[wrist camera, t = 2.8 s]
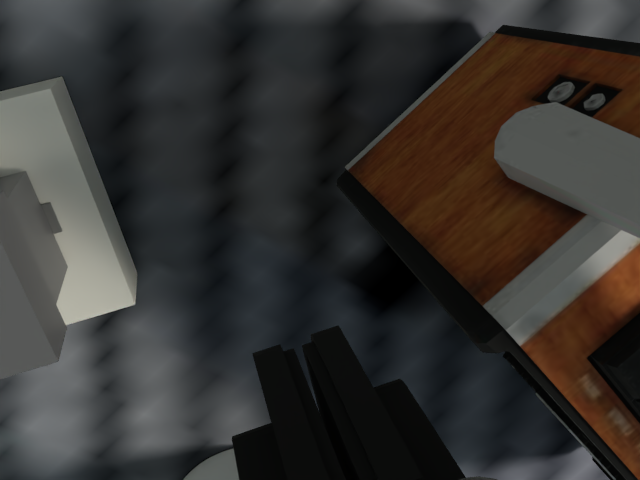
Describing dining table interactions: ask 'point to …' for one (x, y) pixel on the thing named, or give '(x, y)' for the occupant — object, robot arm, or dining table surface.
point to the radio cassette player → (528, 218)
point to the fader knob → (28, 281)
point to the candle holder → (216, 468)
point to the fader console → (68, 197)
